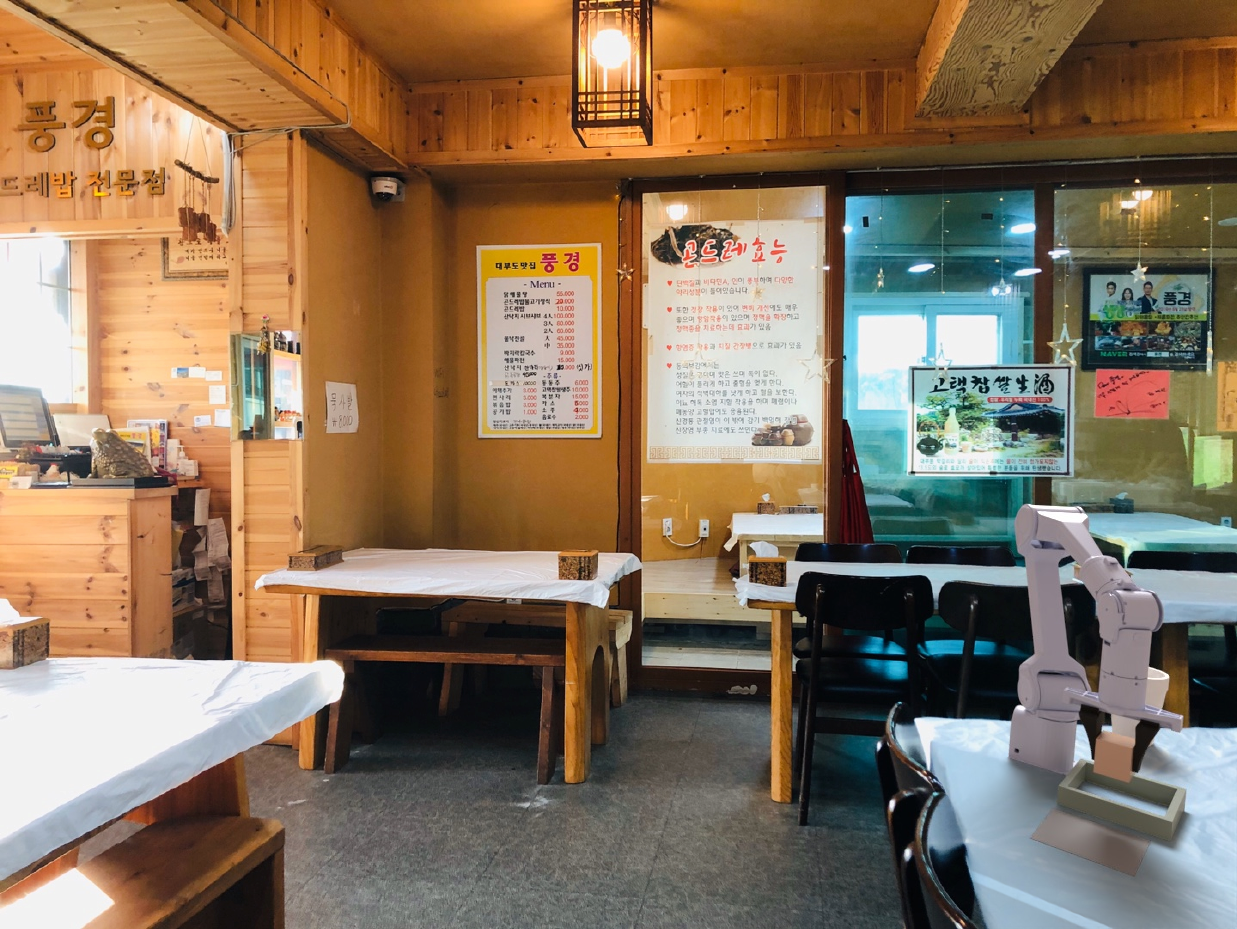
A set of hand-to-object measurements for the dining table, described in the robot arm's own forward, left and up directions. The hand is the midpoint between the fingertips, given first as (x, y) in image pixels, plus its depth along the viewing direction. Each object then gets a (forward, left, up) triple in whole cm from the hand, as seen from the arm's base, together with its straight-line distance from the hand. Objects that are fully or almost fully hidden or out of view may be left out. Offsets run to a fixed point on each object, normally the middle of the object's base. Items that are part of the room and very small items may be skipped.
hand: (1115, 764), depth 113 cm
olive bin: (0, +5, -8) cm, 10 cm away
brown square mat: (-1, -10, -8) cm, 13 cm away
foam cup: (-4, +39, -9) cm, 40 cm away
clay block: (0, 0, -1) cm, 1 cm away
